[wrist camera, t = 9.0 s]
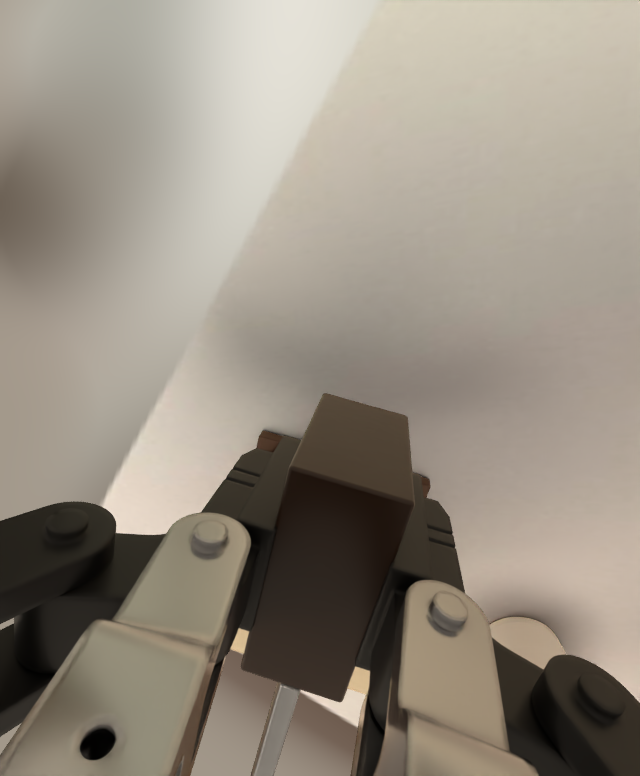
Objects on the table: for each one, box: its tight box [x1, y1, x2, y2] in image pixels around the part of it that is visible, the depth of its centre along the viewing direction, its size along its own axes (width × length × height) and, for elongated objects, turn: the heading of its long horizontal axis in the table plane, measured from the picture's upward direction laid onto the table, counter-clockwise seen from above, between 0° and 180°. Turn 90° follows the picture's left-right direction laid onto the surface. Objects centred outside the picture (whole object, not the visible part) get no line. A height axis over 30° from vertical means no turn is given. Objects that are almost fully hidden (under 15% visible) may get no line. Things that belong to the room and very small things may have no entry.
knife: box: [241, 393, 415, 776], centre depth 10 cm, size 12×2×4 cm, turn 166°
